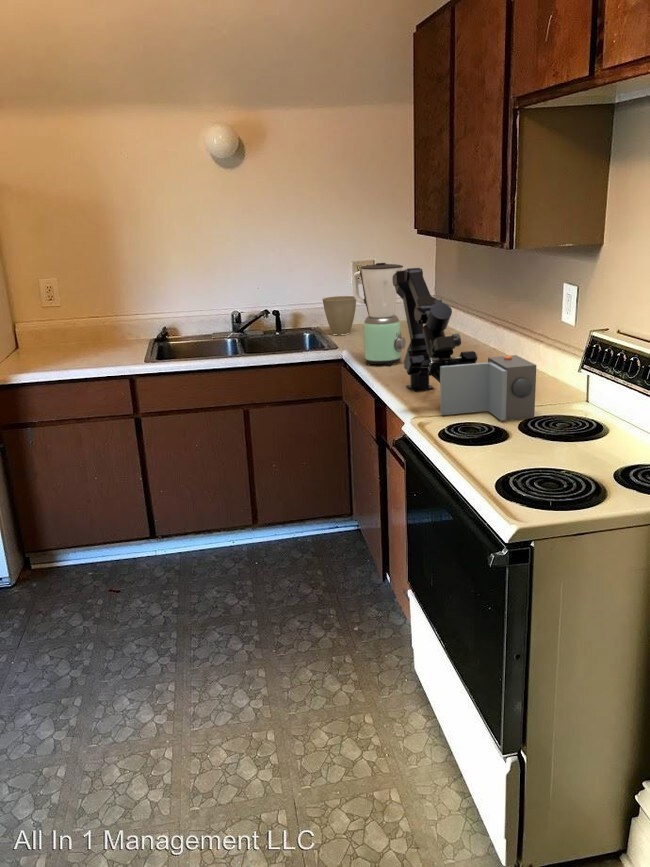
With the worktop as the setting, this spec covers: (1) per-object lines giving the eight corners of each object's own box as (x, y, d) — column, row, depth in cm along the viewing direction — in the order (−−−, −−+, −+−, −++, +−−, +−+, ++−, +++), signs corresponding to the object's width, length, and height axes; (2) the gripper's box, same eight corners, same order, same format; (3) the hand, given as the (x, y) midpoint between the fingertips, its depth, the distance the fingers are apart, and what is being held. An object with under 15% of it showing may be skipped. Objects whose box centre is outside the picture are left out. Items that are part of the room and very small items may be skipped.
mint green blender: (411, 360, 259) (410, 261, 248) (397, 368, 248) (395, 265, 237) (363, 357, 267) (360, 261, 256) (348, 365, 256) (344, 265, 245)
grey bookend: (439, 412, 193) (439, 365, 189) (489, 408, 195) (490, 361, 191) (453, 425, 182) (453, 375, 178) (505, 420, 184) (507, 370, 180)
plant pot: (364, 333, 314) (363, 297, 309) (338, 338, 306) (336, 301, 301) (343, 330, 325) (342, 294, 320) (317, 334, 317) (315, 298, 312)
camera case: (486, 407, 197) (487, 354, 193) (514, 404, 198) (516, 352, 194) (506, 421, 184) (508, 365, 179) (536, 419, 185) (538, 363, 180)
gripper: (408, 326, 190) (419, 376, 183) (475, 321, 193) (489, 370, 185) (401, 350, 200) (412, 398, 193) (465, 345, 202) (478, 392, 195)
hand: (448, 389), depth 191 cm, fingers closed, pressing on grey bookend
